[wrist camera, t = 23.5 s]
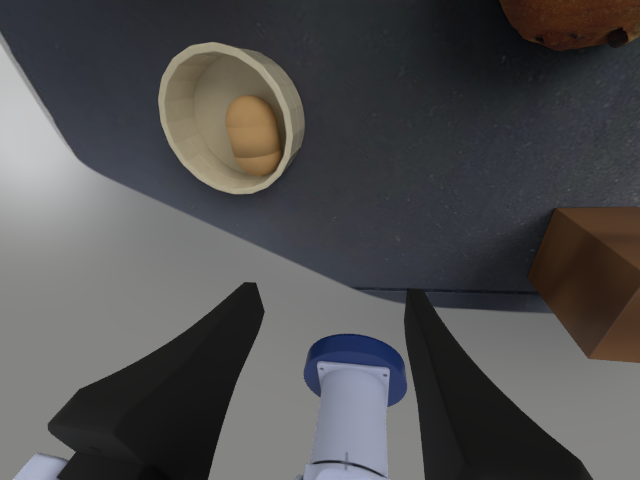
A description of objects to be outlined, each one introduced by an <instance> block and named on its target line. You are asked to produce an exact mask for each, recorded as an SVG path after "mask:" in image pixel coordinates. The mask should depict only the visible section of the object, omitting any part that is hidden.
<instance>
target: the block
mask: <svg viewBox="0 0 640 480" xmlns="http://www.w3.org/2000/svg"><path fill="white" fill-rule="evenodd" d="M527 278H528V280H529V281H530V282H531V283H532V285H533V286H534V287H535V289H536V290H537V291H538V293H539V294H540V295H541V297H542V298H543V299H544V301H545V302H546V303H547V305H548V306H549V307H550V309H551V310H552V311H553V313H554V314H555V315H556V316H557V318H558V319H559V321H560V322H561V323H562V325H563V326H564V327H565V329H566V330H567V331H568V333H569V334H570V335H571V337H572V338H573V339H574V340H575V342H576V343H577V344H578V346H579V347H580V348H581V350H582V351H583V352H584V354H585V355H586V356H587V358H589V359H597V360H610V361H623V362H635V363H640V208H639V207H591V208H555V210H554V213H553V215H552V218H551V220H550V223H549V225H548V227H547V230H546V232H545V235H544V237H543V240H542V242H541V244H540V247H539V249H538V252H537V254H536V257H535V259H534V261H533V264H532V266H531V269H530V271H529V274H528V276H527Z"/></svg>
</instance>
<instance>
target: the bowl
mask: <svg viewBox="0 0 640 480" xmlns="http://www.w3.org/2000/svg"><path fill="white" fill-rule="evenodd" d="M243 95H253V96H257V97H259V98H261V99H263V100H264V101H266V102H267V103H268V104H269V106H270V107H271V108H272V110H273V112H274V114H275V118H276V122H277V128H278V134H279V140H280V146H281V159H280V162H279V164H278V166H277V167H276V168H275V170H274V171H272V172H271V173H269V174H267V175H263V176H255V175H251V174H249V173H247V172H245V171H244V170H243V169H241V168H240V166H239V165H238V164H237V162H236V160H235V157H234V155H233V151H232V147H231V143H230V140H229V136H228V132H227V128H226V123H225V115H226V111H227V109H228V106H229V105H230V104H231V102H232V101H233V100H235V99H236V98H238V97H240V96H243ZM158 103H159V111H160V119H161V124H162V127H163V130H164V132H165V135H166V137H167V140H168V143H169V145H170V147H171V148H172V150H173V151H174V153H175V154H176V156H177V157H178V159H179V160H180V161H181V163H182V164H183V165H184V166H185V167H186V168H187V169H188V170H189V171H190V172H191V173H192V174H193V175H194V176H195V177H196V178H198V179H199V180H201V181H202V182H204V183H206V184H207V185H209V186H211V187H213V188H214V189H217V190H220V191H224V192H228V193H231V194H251V193H255V192H257V191H260V190H262V189H265V188H267V187H269V186H270V185H271V184H272V183H273V182H274V181H275V180H276V179H278V178H279V177H280V176H281V175H282V174H283V172H284V171H285V170H286V169H287V168H288V167H289V166H290V164H291V163H292V162H293V161H294V159H295V157H296V156H297V154H298V152H299V150H300V148H301V144H302V141H303V137H304V129H305V120H304V111H303V106H302V103H301V99H300V97H299V94H298V92H297V89H296V88H295V86H294V84H293V82H292V81H291V79H290V78H289V76H288V75H287V74H286V73H285V71H284V70H283V69H282V68H281V67H280V66H279V65H278V64H276V63H275V62H274V61H273V60H271V59H270V58H268V57H267V56H265V55H263V54H261V53H260V52H257V51H253V50H250V49H246V48H242V47H238V46H233V45H227V44H222V43H217V42H210V43H203V44H197V45H192V46H189V47H188V48H187V49H185V50H184V51H182V52H181V53H179V54H178V55H177V56H175V57H174V58H173V59H172V61H171V62H170V64H169V66H168V67H167V69H166V71H165V73H164V74H163V76H162V80H161V85H160V91H159V97H158Z"/></svg>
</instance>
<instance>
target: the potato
mask: <svg viewBox="0 0 640 480" xmlns="http://www.w3.org/2000/svg"><path fill="white" fill-rule="evenodd" d="M225 123H226V128H227V132H228V136H229V140H230V143H231V147H232V151H233V155H234V157H235V160H236V162H237V164H238V165H239V166H240V168H241V169H243V170H244V171H245V172H247V173H249V174H251V175H255V176H263V175H267V174H269V173H271V172H272V171H274V170H275V168H276V167H277V166H278V164H279V162H280V159H281V146H280V140H279V134H278V128H277V122H276V118H275V114H274V112H273V110H272V108H271V107H270V106H269V104H268V103H267V102H266V101H264V100H263V99H261V98H259V97H257V96H253V95H243V96H240V97H238V98H236V99H235V100H233V101H232V102H231V104H230V105H229V106H228V109H227V111H226V115H225Z"/></svg>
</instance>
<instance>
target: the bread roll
mask: <svg viewBox="0 0 640 480" xmlns="http://www.w3.org/2000/svg"><path fill="white" fill-rule="evenodd" d="M499 1H500V3H501V6H502V8H503V11H504V13H505V14H506V16H507V18H508V20H509V22H510V24H511V26H512V27H513V28H515V29H516V30H517V31H518V32H519V34H520V35H521V36H522V37H523V38H524V39H526V40H528V41H531V42H535V43H540V44H542V45H544V46H546V47H548V48H550V49H552V50H557V51H562V52H563V51H564V50H570V49H579V48H582V47H590V46H595V45H600V44H604V43H609V45H610V47H614V48H617V47H620V46H623V45H626V44H628V43H629V42H631V41H632V40H634V39H635V38H637V37H639V36H640V0H499Z"/></svg>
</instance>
